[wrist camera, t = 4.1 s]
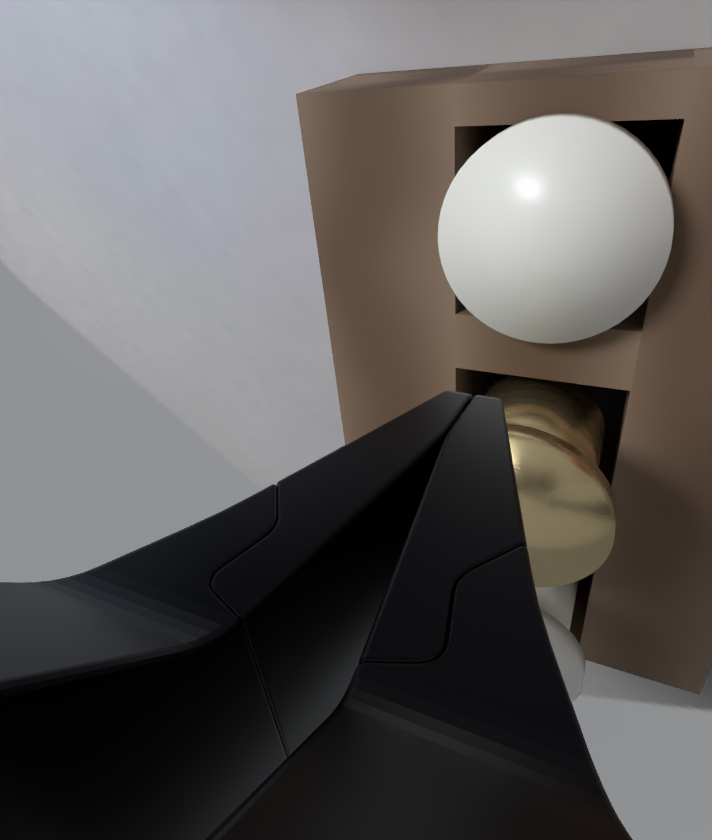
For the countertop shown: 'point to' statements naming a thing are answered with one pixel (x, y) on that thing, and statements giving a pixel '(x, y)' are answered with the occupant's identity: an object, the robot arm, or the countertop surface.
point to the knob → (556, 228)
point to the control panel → (498, 353)
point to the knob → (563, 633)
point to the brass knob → (559, 477)
